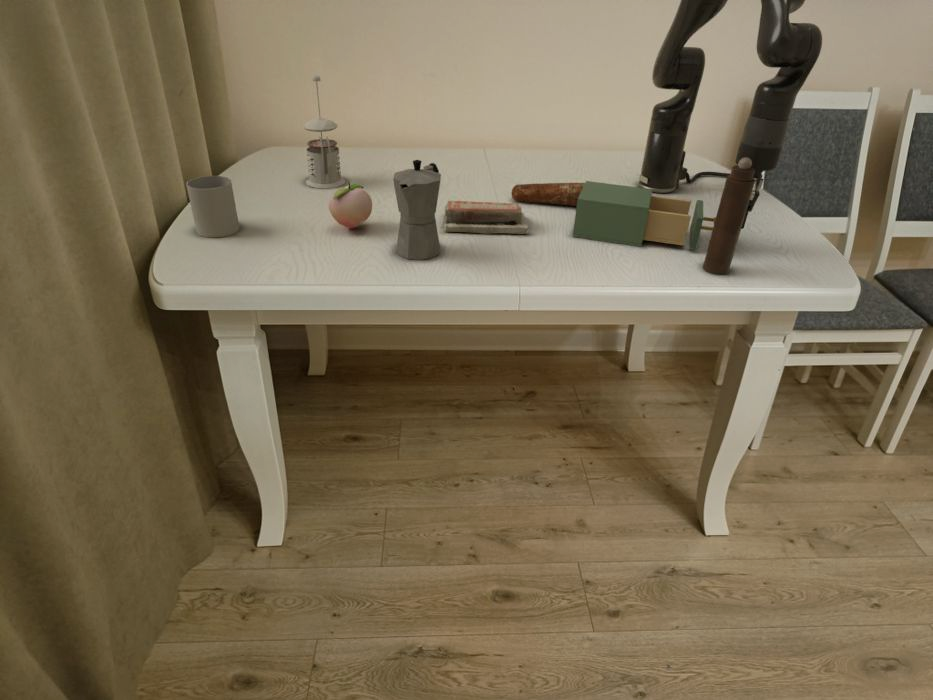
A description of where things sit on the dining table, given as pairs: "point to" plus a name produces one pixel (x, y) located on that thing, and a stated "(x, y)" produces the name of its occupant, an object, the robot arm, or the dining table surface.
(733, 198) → the pepper mill
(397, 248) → the coffeepot
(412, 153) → the dining table surface
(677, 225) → the drawer
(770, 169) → the robot arm
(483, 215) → the packaged product
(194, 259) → the dining table surface
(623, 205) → the cabinet
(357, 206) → the decorative fruit
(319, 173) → the french press
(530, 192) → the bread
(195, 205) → the cup
